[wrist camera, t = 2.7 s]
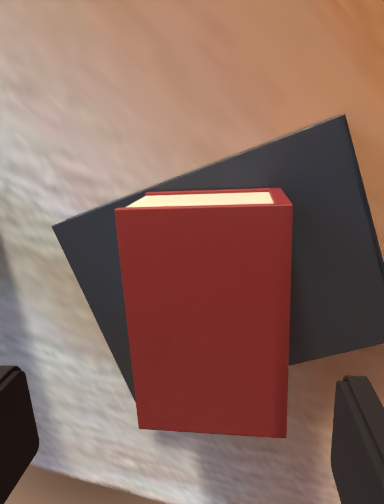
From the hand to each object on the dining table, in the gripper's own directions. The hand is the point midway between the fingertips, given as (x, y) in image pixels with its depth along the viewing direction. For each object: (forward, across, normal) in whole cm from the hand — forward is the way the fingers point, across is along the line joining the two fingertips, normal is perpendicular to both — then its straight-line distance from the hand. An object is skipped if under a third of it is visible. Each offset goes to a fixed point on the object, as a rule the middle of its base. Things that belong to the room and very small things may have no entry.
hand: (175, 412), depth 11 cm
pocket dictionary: (+10, -1, 0) cm, 10 cm away
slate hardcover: (+12, -1, 0) cm, 12 cm away
